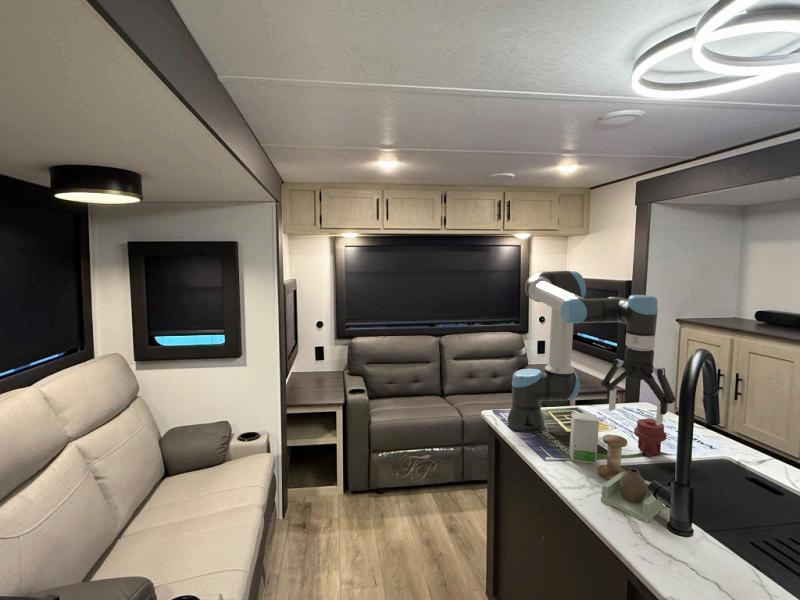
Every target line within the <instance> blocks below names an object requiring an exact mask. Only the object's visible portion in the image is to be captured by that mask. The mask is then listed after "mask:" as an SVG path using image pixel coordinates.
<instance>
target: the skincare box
mask: <svg viewBox="0 0 800 600" xmlns="http://www.w3.org/2000/svg"><path fill="white" fill-rule="evenodd" d="M570 418H571V420H570V421H571V422H570V433H569V434H570V436H569V449H568V450H569V453H568V454H569V455H570V457H569V458H570V459H571V461H572V462H575V463H576V462H577V463H586V464H593V465H596V464H597V459H598V458H597V457H598V443H599V441H598V440H599V429H600V427H599V426H600V425H599V424H600V420H599V419H598V417H597V414H591V413H584V412H573V411H572V412H571V417H570Z"/></svg>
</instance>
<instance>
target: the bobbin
mask: <svg viewBox="0 0 800 600" xmlns="http://www.w3.org/2000/svg"><path fill="white" fill-rule="evenodd" d="M602 442H603V443H604V444H606V445H607V451H606V452H607V454H606V457H607V458H606V464H602V465H599V466H598V469H597V475H599V476H600V477H601V478H603V479H604V480H606V481H609V480H610V479H612V478H613V477H615V476H616V475H617V474H619V473H620V472H625V473H627V472H628V470H626V469H624V468H623V467H621V464H622V451H623V450H622V449H623V448H624V447H627V446H628V440H627V439H626V438H625V437H623V436H621V435H617V434H605V435H603V437H602Z"/></svg>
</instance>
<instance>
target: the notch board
mask: <svg viewBox="0 0 800 600" xmlns="http://www.w3.org/2000/svg"><path fill="white" fill-rule="evenodd" d="M624 474H625V472H620V473H619V474H617V475H616V476H615V477H613V478H612V479H610V480H606V482H605V483H603V484H602V486H601V487H602V488H601V496H600V499H599V500H601V501H600V502H602V501H603V502H602V503H604V502H605V503H604V504H606V503H607V504H606V505H608V504H610V505H609V506H611V505H612V506H611V507H613V506H614V507H613V508H615V507H616V508H615V509H617V508H619V509H620V510H619V509H618V510H619V511H621V512H624V511H625V512H624V513H626V512H627V513H626V514H628V513H630V514H631V516H633V517H635V518H637V519H639V518H640V519H639V520H641V519H642V521H644V522H646V521H647V522H646V523H650V521H652V519H654V518H655V517H656V516H657V515H658V514H659V513H660V512H661V511H662V510H663V509H664V508H665V507H664V505H663V504H662V503H661V502H660V501H659V500H657V499H656V498H655V497H654V496H653V495H651V494H650V492H649V490H648V486H649V485H650V483H652V482H651V481H648V480H646V479H644V481H645V483H646V487H647V492H646V496H645V498H644V500H642V501H641V502H639V503H632V502H629V501H627V500H626V499H625V498H624V497H623V496H622V494H621V492H620V487H619V484H620V480H621V478H622V476H623V475H624ZM661 509H662V510H661ZM660 510H661V511H660ZM659 511H660V512H659ZM658 512H659V513H658ZM657 513H658V514H657ZM630 514H629V515H630ZM656 514H657V515H656ZM655 515H656V516H655ZM654 516H655V517H654ZM653 517H654V518H653Z"/></svg>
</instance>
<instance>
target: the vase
mask: <svg viewBox="0 0 800 600" xmlns="http://www.w3.org/2000/svg"><path fill="white" fill-rule="evenodd" d="M644 480H645V479H644V478H643V477H642V475H641V474H640V471H639V470H638V469H636V468H629V469H628V470H627V473H625V474H624V475H623V476H622V478H621V480H620V484H619V487H620V492H621V494H622V496H623V497H624V498H625V499H626V500H627V501H629V502H632V503H639V502H641V501H642V500H644V498H645V496H646V492H647V487H646V483H645V481H644Z"/></svg>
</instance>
